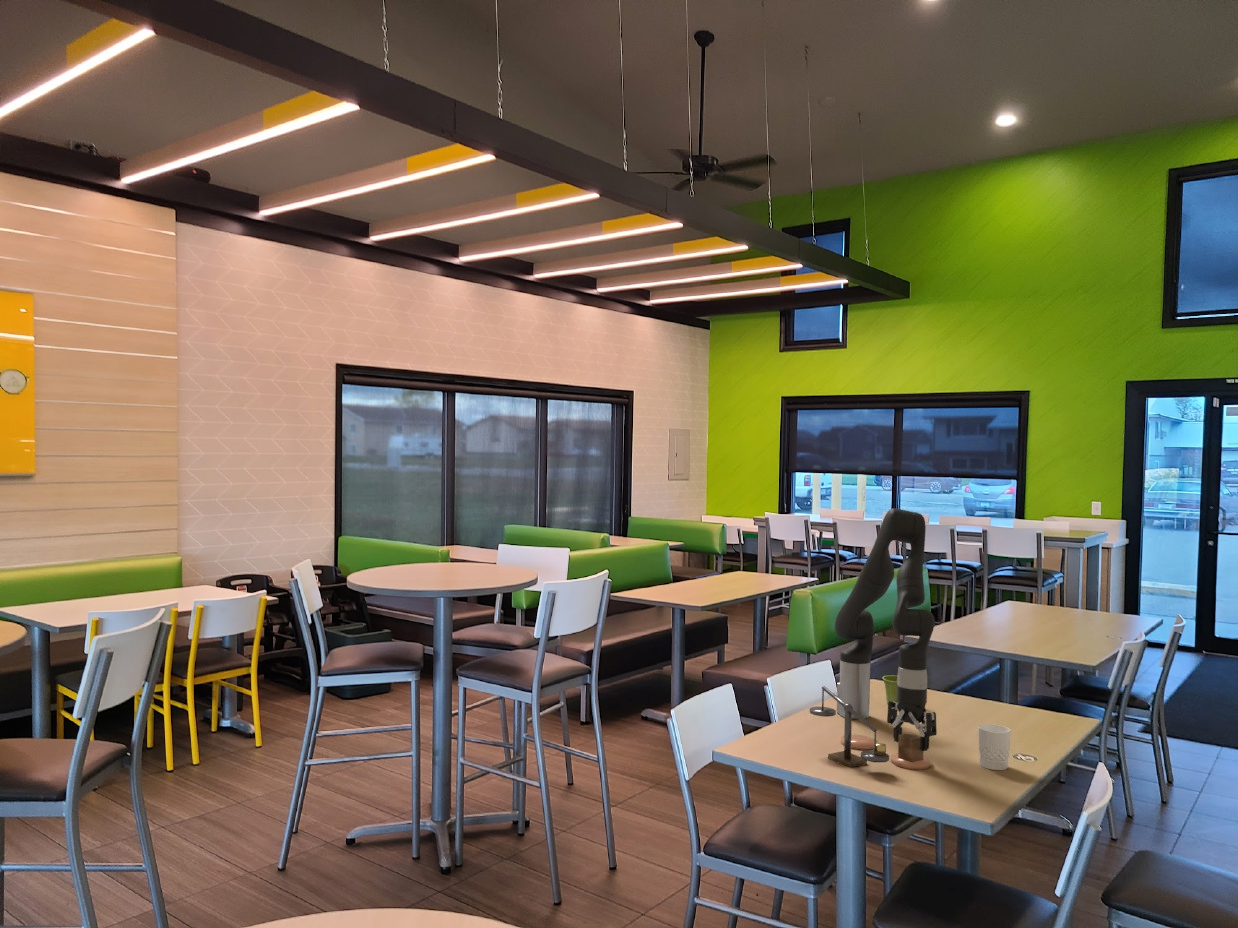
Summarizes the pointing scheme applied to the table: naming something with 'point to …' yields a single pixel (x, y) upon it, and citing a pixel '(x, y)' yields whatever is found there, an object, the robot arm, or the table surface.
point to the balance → (846, 756)
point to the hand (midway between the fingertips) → (910, 745)
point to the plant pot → (890, 687)
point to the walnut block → (909, 747)
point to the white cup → (994, 746)
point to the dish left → (860, 742)
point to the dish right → (911, 765)
